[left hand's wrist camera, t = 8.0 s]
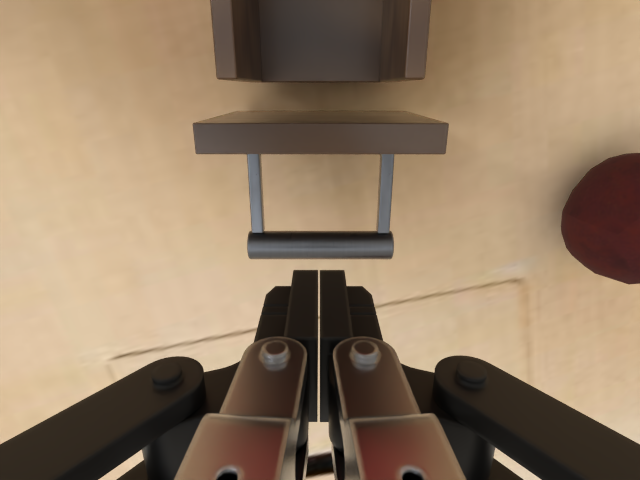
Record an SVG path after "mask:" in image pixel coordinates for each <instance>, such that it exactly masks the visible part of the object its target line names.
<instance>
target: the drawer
mask: <svg viewBox="0 0 640 480" xmlns="http://www.w3.org/2000/svg"><path fill="white" fill-rule="evenodd" d="M210 3H211V15H212V28H213V40H214V52H215V64H216V76H217V79H221V80H232V81H243V82H399V81H410V80H421V79H424V78H425V69H426V57H427V46H428V34H429V22H430V10H431V0H210ZM448 126H449V124H448V123H445V122H442V121H438V120H434V119H431V118H427V117H423V116H420V115H416V114H412V113H409V112H405V111H236V112H232V113H229V114H225V115H221V116H218V117H214V118H210V119H207V120H203V121H199V122H196V123H193V131H194V141H195V150H196V154H247V161H248V178H249V194H250V210H251V226H252V231H250V232H249V234H248V241H247V249H248V256H249V258H250V259H392V257H393V251H394V240H393V234H392V232H391V231H389V229H390V213H391V198H392V182H393V166H394V154H445V153H446V145H447V135H448ZM261 154H380V171H379V190H378V210H377V231H264V229H265V227H264V207H263V187H262V167H261Z"/></svg>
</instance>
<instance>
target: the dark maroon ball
mask: <svg viewBox="0 0 640 480" xmlns="http://www.w3.org/2000/svg"><path fill="white" fill-rule="evenodd" d="M561 231H562V235H563V239H564V242H565V245H566V248H567V249H568V251H569V252H570V253H571V254H572V256H574V257H575V258H576V259H577V260H578V261H579V262H581V263H582V264H583V265H584V266H585V267H587V268H588V269H590V270H591V271H593V272H594V273H596V274H599V275H602V276H605V277H608V278H611V279H614V280H617V281H620V282H623V283H627V284H638V283H640V153H631V154H623V155H619V156H616V157H612V158H608V159H607V160H605V161H603V162H602V163H600V164H598V165H597V166H595V167H594V168H592V169H591V170H590V171H589V172H588V173H587V174H586V175H585V176H584V177H583V179H582V180H581V181H580V182H579V183H578V185H577V186H576V187H575V188H574V189H573V191H572V193H571V195H570V197H569V199H568V201H567V203H566V205H565V207H564V209H563V212H562V222H561Z"/></svg>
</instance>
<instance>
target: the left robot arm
mask: <svg viewBox="0 0 640 480" xmlns="http://www.w3.org/2000/svg"><path fill="white" fill-rule="evenodd" d="M317 391H318V270H294V271H293V278H292V285H291V286H275V287H274V288H273V289H272V290H271V291H270V292H269V293H268V294H267V295H266V298H265V301H264V307H263V309H262V314H261V317H260V321H259V324H258V328H257V332H256V336H255V340H254V343H253V344H251V345H250V346H249V347H248V348H247V349H246V350H245V352H244V354H243V356H242V359H241V361H239V362H238V363H236V364H234V365H231V366H228V367H225V368H222V369H217V370H213V371H208V372H204V371H203V367H202V365H201V364H200V363H199V362H198V361H196V360H194V359H192V358H189V357H179V356H177V357H168V358H164V359H160V360H157V361H155V362H153V363H150V364H148V365H147V366H145V367H143V368H141V369H139V370H137V371H135V372H134V373H132V374H130V375H128V376H126V377H124V378H122V379H121V380H119V381H117V382H115V383H113V384H111V385H110V386H108V387H106V388H104V389H102V390H100V391H98V392H97V393H95V394H93V395H91V396H89V397H87V398H85V399H84V400H82V401H80V402H78V403H76V404H74V405H73V406H71V407H69V408H67V409H65V410H63V411H61V412H60V413H58V414H56V415H54V416H52V417H50V418H48V419H47V420H45V421H43V422H41V423H39V424H37V425H36V426H34V427H32V428H30V429H28V430H26V431H24V432H23V433H21V434H19V435H17V436H15V437H13V438H11V439H10V440H8V441H6V442H4V443H2V444H0V480H98V479H100V478H101V477H103V476H104V475H105V474H107V473H108V472H110V471H111V470H113V469H114V468H116V467H117V466H118V465H120V464H121V463H123V462H124V461H126V460H127V459H128V458H130V457H131V456H133V455H134V454H136V453H137V452H138V451H140V450H141V449H142V452H143V457H144V460H143V461H142V462H140V463H139V464H138V465H136V466H135V467H133V468H132V469H131V470H129V471H128V472H127V473H125V474H124V475H122V476H121V477H120V478H118V479H117V480H305V476H306V468H307V459H308V423H309V422H317ZM320 422H329V437H330V440H331V442H332V459H333V468H334V476H335V480H523V479H522V478H520V477H519V476H518V475H516V474H515V473H513V472H512V471H511V470H509V469H508V468H507V467H505V466H504V465H502V464H501V463H500V462H498V461H497V460H495V459H494V458H493V456H494V451H495V447H496V448H497V449H499V450H500V451H501V452H503V453H504V454H506V455H507V456H509V457H510V458H512V459H513V460H514V461H516V462H517V463H519V464H520V465H522V466H523V467H524V468H526V469H527V470H529V471H530V472H532V473H533V474H534V475H536V476H537V477H539V478H540V479H542V480H640V444H638V443H636V442H634V441H632V440H630V439H629V438H627V437H625V436H623V435H621V434H619V433H617V432H616V431H614V430H612V429H610V428H608V427H606V426H604V425H603V424H601V423H599V422H597V421H595V420H593V419H592V418H590V417H588V416H586V415H584V414H582V413H580V412H579V411H577V410H575V409H573V408H571V407H569V406H567V405H566V404H564V403H562V402H560V401H558V400H556V399H555V398H553V397H551V396H549V395H547V394H545V393H543V392H542V391H540V390H538V389H536V388H534V387H532V386H530V385H529V384H527V383H525V382H523V381H521V380H519V379H518V378H516V377H514V376H512V375H510V374H508V373H506V372H505V371H503V370H501V369H499V368H497V367H495V366H493V365H492V364H490V363H488V362H486V361H483V360H481V359H478V358H474V357H469V356H451V357H447V358H444V359H442V360H441V361H440V362H438V364H437V365H436V368H435V373H433V372H428V371H423V370H419V369H415V368H411V367H408V366H405V365H403V364H401V363H400V361H399V359H398V356H397V354H396V352H395V350H394V349H393V348H392V347H391V346H390V345H389V344H387V343H386V342H384V341H383V339H382V335H381V331H380V327H379V323H378V319H377V315H376V311H375V307H374V303H373V299H372V295H371V294H370V293H369V292H368V291H367V290H366V289H365V288H364V287H362V286H346V279H345V272H344V270H320Z"/></svg>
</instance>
